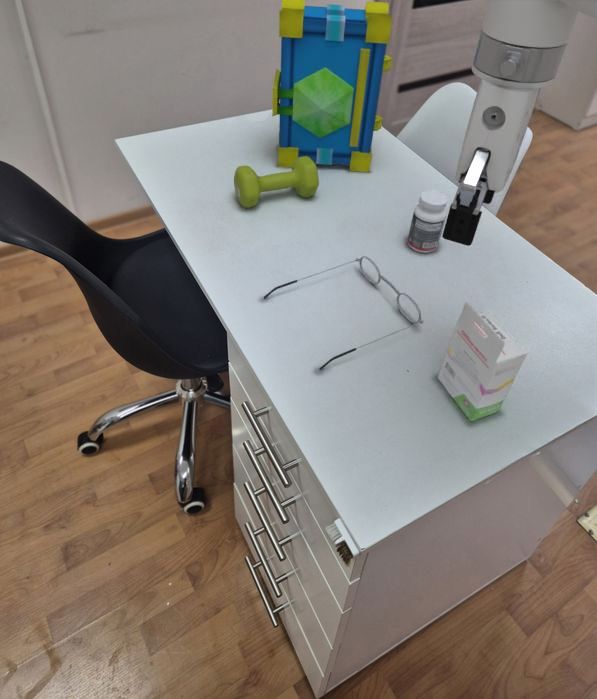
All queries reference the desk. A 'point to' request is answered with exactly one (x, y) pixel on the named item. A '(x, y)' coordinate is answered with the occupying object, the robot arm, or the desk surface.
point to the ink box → (480, 363)
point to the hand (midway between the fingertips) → (467, 219)
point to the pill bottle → (428, 222)
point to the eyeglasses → (373, 283)
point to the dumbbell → (276, 181)
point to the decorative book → (330, 82)
